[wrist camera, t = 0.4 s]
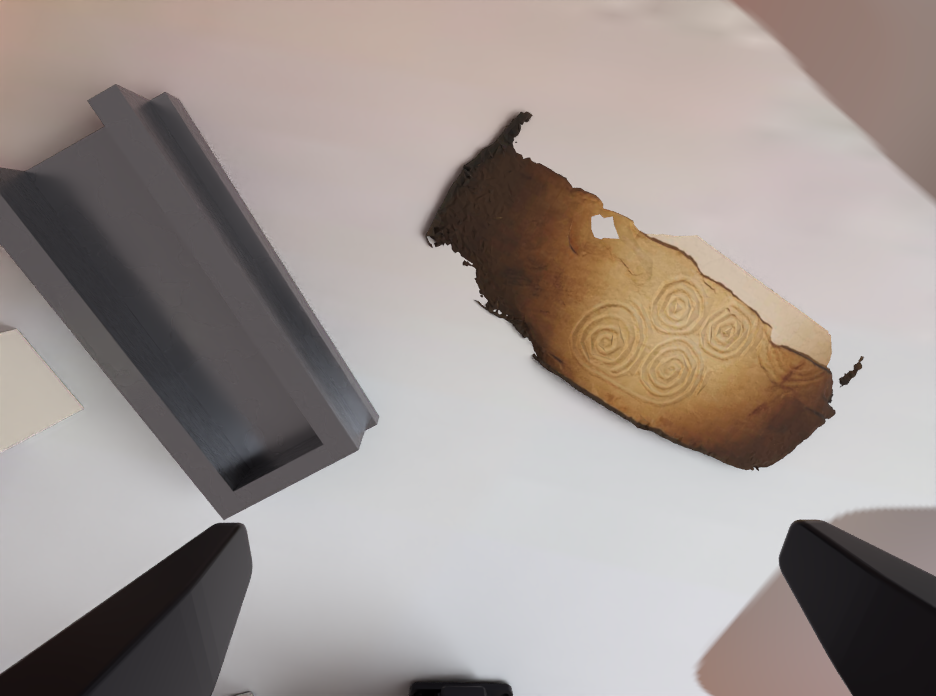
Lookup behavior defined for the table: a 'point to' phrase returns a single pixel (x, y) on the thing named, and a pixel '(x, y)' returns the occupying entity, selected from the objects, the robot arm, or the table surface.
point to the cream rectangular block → (28, 392)
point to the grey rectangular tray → (183, 302)
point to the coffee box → (246, 694)
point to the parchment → (639, 313)
